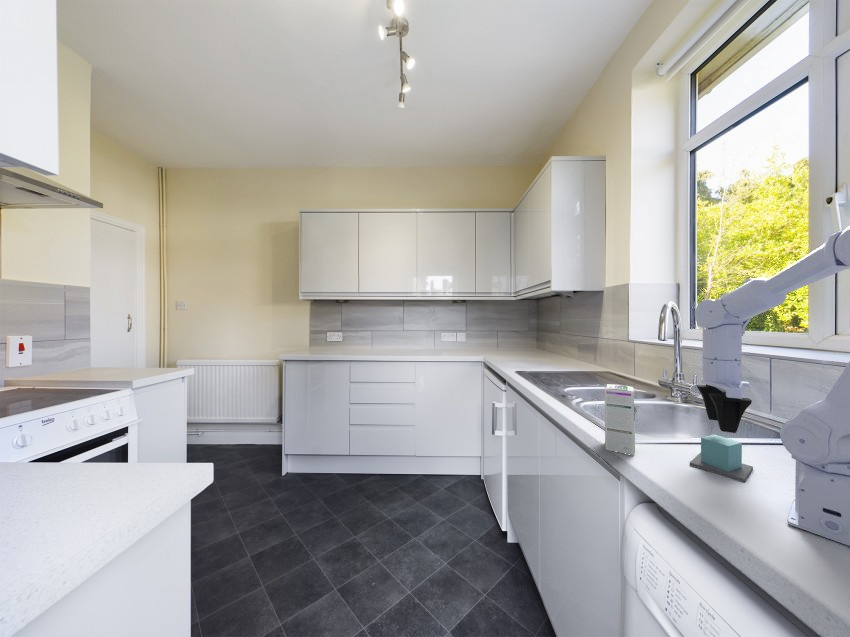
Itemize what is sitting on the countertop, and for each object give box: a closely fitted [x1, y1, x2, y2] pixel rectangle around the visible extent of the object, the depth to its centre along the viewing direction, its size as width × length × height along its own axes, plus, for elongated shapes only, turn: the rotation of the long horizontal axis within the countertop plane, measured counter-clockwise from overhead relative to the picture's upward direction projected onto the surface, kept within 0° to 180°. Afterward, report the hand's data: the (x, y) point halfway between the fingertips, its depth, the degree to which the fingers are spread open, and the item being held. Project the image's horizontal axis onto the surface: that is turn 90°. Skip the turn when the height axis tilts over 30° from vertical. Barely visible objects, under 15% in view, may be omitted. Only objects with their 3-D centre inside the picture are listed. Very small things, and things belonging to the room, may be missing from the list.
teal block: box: [700, 434, 743, 472], centre depth 63 cm, size 4×4×5 cm
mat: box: [689, 451, 754, 483], centre depth 63 cm, size 8×8×1 cm
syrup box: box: [604, 383, 636, 456], centre depth 71 cm, size 6×6×14 cm
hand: (721, 425), depth 62 cm, fingers open, 7 cm apart
